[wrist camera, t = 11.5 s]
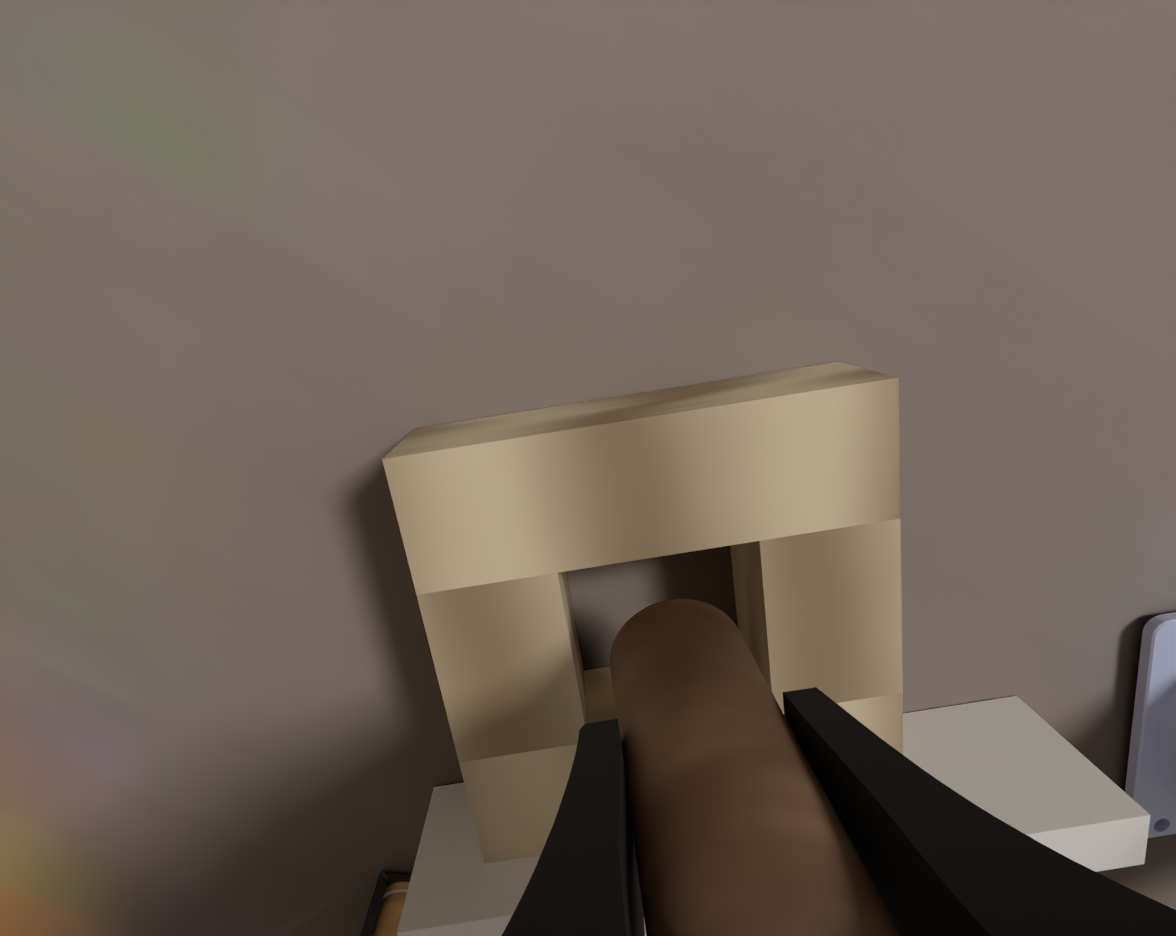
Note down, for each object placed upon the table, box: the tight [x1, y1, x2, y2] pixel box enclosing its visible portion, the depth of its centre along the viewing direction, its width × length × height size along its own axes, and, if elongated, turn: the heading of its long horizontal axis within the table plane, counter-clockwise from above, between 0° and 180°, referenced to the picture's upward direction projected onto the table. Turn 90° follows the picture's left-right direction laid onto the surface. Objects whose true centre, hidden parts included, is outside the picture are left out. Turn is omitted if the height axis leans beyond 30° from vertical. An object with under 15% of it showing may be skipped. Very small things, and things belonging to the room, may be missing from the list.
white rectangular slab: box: [397, 696, 1151, 936], centre depth 18 cm, size 18×6×4 cm, turn 98°
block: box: [382, 362, 903, 864], centre depth 16 cm, size 11×11×3 cm
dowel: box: [610, 599, 901, 936], centre depth 9 cm, size 3×3×9 cm
